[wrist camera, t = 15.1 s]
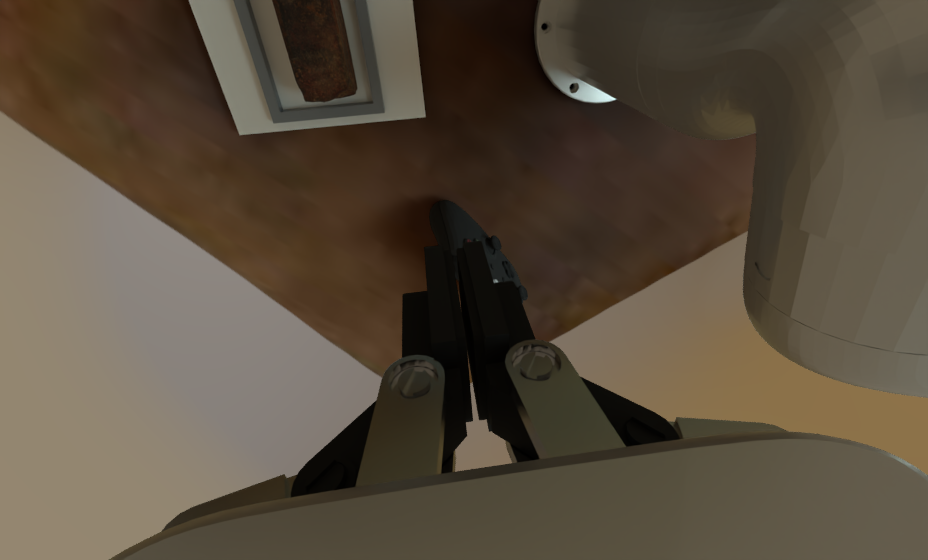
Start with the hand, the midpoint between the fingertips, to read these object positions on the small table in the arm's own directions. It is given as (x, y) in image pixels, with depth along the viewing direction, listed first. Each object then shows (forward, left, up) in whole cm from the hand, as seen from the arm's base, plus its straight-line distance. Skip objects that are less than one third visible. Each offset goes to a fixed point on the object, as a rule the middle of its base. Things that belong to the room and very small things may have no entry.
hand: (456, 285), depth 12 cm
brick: (+7, -6, -28) cm, 30 cm away
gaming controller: (-4, +16, -29) cm, 34 cm away
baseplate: (+8, -6, -29) cm, 31 cm away
